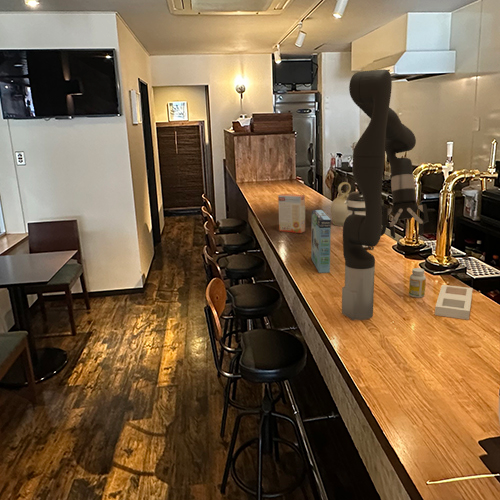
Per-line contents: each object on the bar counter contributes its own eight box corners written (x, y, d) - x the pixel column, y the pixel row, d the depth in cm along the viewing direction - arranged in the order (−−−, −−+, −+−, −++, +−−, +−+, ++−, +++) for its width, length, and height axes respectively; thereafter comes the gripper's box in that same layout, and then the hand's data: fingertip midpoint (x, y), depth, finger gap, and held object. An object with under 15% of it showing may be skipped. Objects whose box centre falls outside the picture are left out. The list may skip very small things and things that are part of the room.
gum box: (311, 259, 211) (310, 210, 205) (322, 258, 211) (322, 209, 205) (318, 273, 193) (318, 219, 186) (330, 272, 193) (331, 219, 186)
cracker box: (305, 231, 261) (305, 194, 256) (300, 233, 257) (300, 196, 251) (283, 229, 269) (283, 193, 263) (278, 231, 264) (277, 194, 258)
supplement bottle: (412, 298, 163) (414, 272, 161) (406, 292, 168) (407, 267, 166) (427, 297, 164) (429, 271, 161) (420, 291, 169) (422, 266, 166)
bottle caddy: (468, 319, 145) (469, 311, 144) (434, 314, 150) (435, 306, 149) (471, 296, 163) (472, 288, 162) (441, 292, 167) (441, 284, 167)
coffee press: (365, 254, 215) (366, 190, 207) (337, 248, 227) (338, 187, 218) (386, 246, 226) (388, 185, 217) (358, 240, 238) (360, 182, 229)
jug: (359, 226, 267) (360, 183, 260) (332, 227, 267) (333, 184, 260) (354, 220, 282) (355, 179, 274) (328, 221, 282) (328, 180, 275)
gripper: (380, 190, 157) (384, 238, 155) (425, 184, 152) (430, 234, 150) (382, 194, 164) (386, 239, 162) (425, 188, 159) (429, 235, 158)
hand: (407, 236), depth 156 cm, fingers open, 8 cm apart
